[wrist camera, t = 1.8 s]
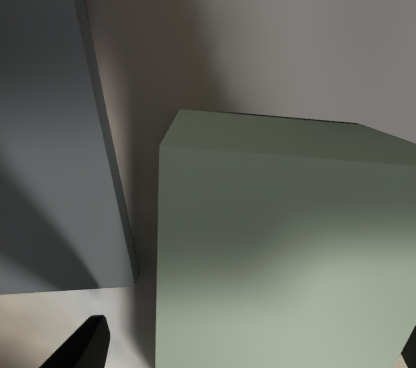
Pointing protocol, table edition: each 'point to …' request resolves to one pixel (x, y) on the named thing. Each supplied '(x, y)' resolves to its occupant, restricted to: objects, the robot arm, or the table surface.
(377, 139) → the lintel
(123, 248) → the board
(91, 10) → the table surface
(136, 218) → the table surface
